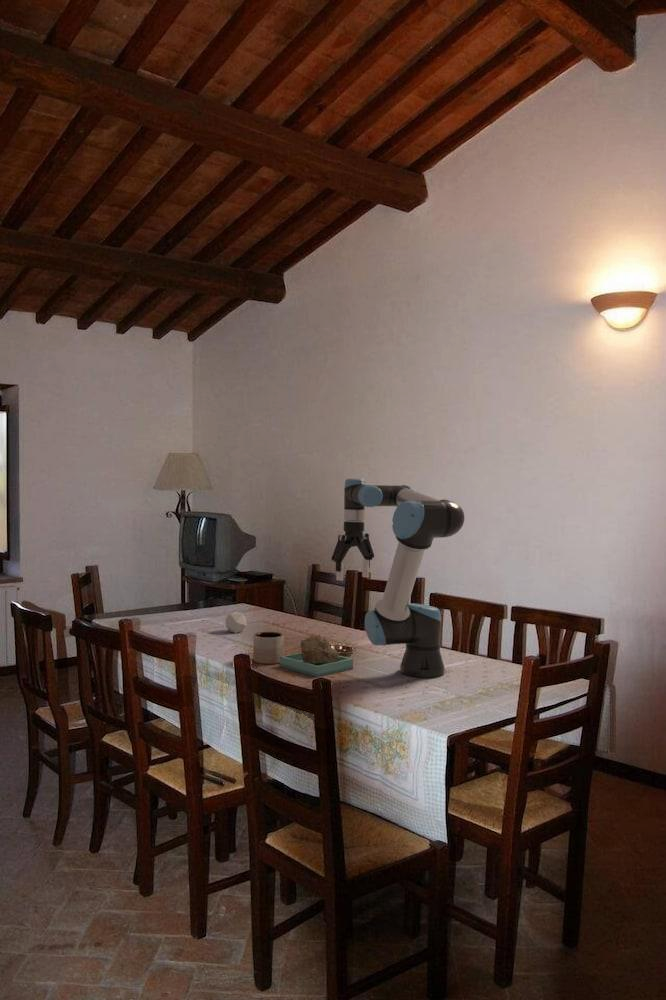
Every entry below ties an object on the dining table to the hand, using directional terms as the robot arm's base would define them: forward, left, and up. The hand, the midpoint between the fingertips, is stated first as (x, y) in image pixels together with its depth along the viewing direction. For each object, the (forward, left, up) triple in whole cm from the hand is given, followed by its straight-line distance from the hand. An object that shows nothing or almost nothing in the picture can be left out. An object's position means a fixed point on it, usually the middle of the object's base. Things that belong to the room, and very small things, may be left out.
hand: (352, 578), depth 306 cm
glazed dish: (-4, +22, -29) cm, 36 cm away
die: (+61, +6, -29) cm, 68 cm away
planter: (+14, +28, -29) cm, 43 cm away
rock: (-4, +21, -28) cm, 35 cm away
